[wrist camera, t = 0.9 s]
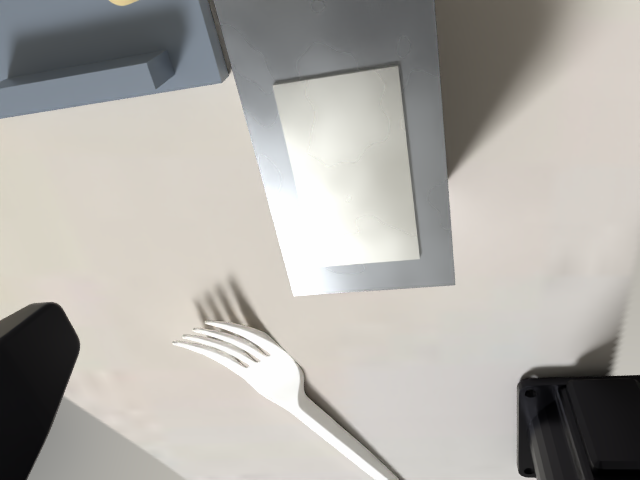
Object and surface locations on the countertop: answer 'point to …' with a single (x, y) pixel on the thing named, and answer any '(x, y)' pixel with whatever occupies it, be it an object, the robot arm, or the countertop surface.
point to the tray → (103, 51)
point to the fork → (280, 385)
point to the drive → (347, 138)
